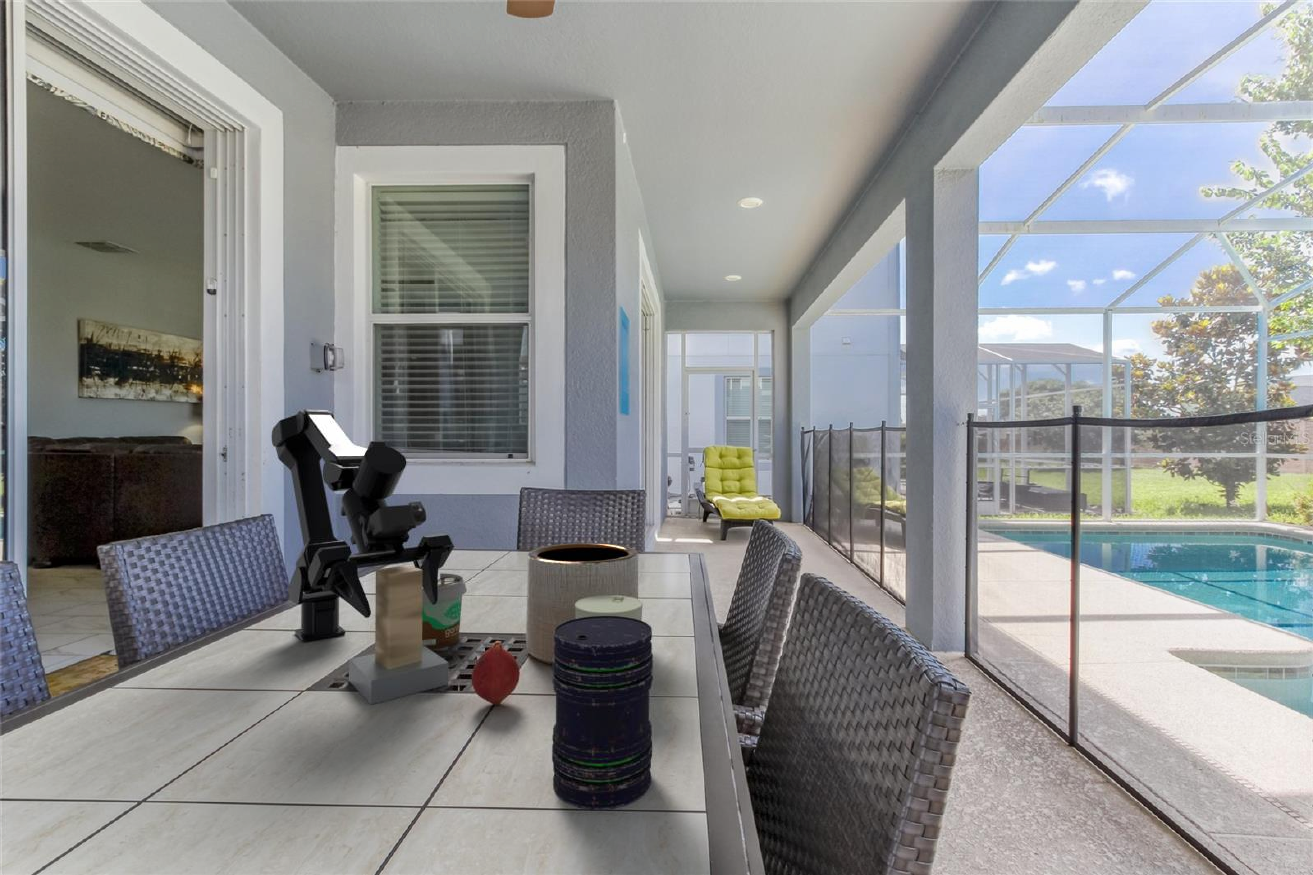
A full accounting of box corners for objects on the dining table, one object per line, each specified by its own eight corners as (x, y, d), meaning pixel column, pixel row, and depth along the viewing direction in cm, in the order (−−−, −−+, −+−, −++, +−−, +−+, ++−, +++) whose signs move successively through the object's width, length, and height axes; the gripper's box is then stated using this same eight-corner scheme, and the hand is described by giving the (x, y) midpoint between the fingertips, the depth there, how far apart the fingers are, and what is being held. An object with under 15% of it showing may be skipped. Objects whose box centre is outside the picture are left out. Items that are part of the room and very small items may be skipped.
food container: (451, 654, 98) (451, 590, 98) (412, 653, 98) (412, 589, 98) (475, 630, 110) (476, 572, 110) (441, 629, 110) (441, 572, 110)
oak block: (375, 660, 86) (375, 569, 86) (407, 652, 89) (407, 565, 89) (389, 669, 83) (389, 574, 83) (421, 660, 86) (422, 569, 86)
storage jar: (602, 746, 69) (603, 610, 69) (672, 777, 63) (673, 627, 63) (530, 784, 61) (531, 631, 61) (602, 824, 55) (603, 654, 55)
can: (651, 680, 88) (652, 594, 88) (627, 707, 79) (628, 612, 79) (591, 672, 91) (592, 589, 91) (561, 697, 82) (562, 605, 82)
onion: (476, 718, 75) (477, 651, 75) (467, 700, 81) (467, 638, 81) (524, 709, 78) (524, 644, 78) (512, 692, 83) (513, 631, 83)
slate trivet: (348, 680, 87) (349, 659, 87) (421, 664, 93) (421, 643, 93) (371, 704, 79) (371, 680, 79) (448, 684, 86) (448, 662, 86)
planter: (621, 629, 111) (622, 540, 111) (653, 663, 94) (653, 559, 94) (520, 638, 106) (520, 545, 106) (533, 676, 89) (534, 565, 89)
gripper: (316, 487, 82) (348, 585, 75) (448, 480, 96) (487, 563, 88) (295, 540, 88) (323, 637, 80) (424, 527, 101) (458, 608, 93)
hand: (403, 609), depth 85 cm, fingers open, 9 cm apart
